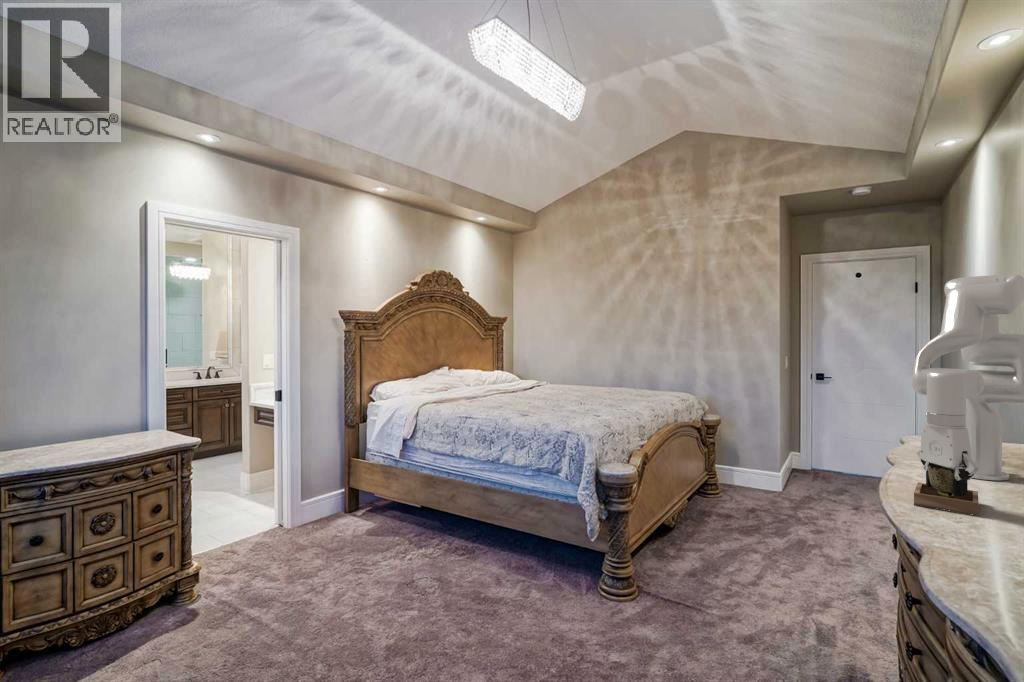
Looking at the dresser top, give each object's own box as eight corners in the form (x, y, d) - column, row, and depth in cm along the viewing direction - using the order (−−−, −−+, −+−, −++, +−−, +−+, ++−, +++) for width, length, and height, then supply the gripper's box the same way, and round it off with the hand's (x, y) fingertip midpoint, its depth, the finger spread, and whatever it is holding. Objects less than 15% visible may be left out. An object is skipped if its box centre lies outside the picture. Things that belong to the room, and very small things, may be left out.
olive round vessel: (934, 500, 127) (934, 468, 127) (922, 491, 134) (922, 461, 134) (971, 503, 124) (971, 470, 124) (957, 494, 131) (957, 463, 131)
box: (917, 493, 138) (917, 482, 138) (977, 503, 130) (977, 491, 130) (913, 505, 129) (913, 493, 129) (978, 516, 121) (978, 503, 121)
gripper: (903, 415, 137) (903, 481, 138) (964, 427, 120) (964, 502, 120) (930, 414, 138) (930, 480, 138) (994, 426, 120) (994, 501, 121)
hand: (946, 490), depth 129 cm, fingers closed on olive round vessel, 7 cm apart
